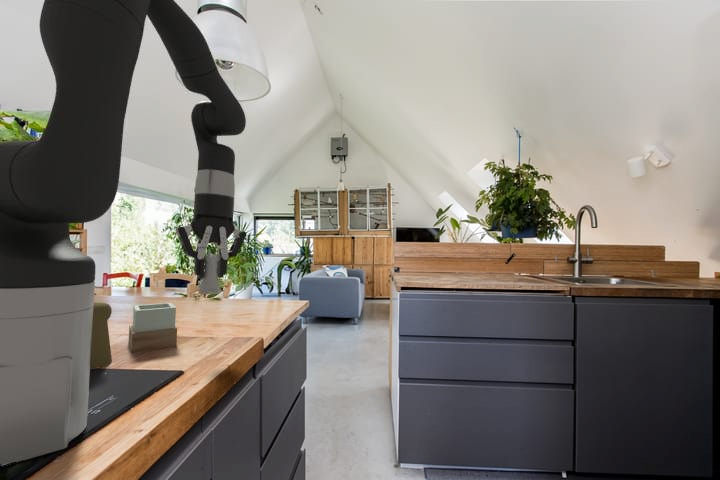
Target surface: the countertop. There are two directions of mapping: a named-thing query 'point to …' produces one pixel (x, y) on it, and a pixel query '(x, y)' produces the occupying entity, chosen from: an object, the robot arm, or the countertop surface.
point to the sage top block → (153, 317)
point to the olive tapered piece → (100, 336)
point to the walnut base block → (152, 339)
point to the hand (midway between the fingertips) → (210, 277)
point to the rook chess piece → (210, 276)
